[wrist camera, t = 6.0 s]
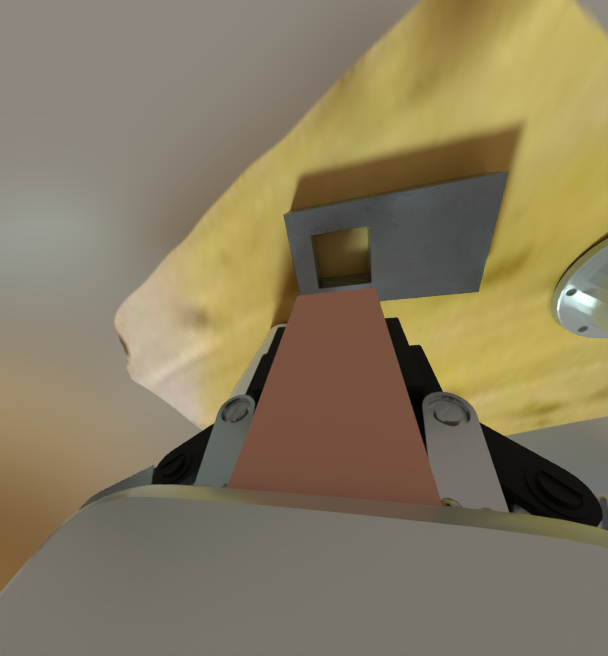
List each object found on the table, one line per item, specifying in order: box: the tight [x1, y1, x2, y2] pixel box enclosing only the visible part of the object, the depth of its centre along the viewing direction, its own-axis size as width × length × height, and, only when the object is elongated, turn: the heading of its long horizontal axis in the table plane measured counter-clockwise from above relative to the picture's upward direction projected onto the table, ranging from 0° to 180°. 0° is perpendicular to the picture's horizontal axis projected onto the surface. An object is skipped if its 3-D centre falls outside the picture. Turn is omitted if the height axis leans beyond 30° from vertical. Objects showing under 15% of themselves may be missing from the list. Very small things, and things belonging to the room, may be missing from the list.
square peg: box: [227, 287, 443, 506], centre depth 9 cm, size 4×4×9 cm
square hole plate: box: [284, 172, 508, 301], centre depth 23 cm, size 18×10×3 cm, turn 101°
